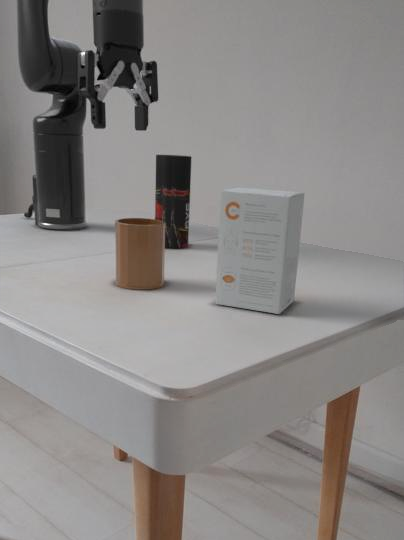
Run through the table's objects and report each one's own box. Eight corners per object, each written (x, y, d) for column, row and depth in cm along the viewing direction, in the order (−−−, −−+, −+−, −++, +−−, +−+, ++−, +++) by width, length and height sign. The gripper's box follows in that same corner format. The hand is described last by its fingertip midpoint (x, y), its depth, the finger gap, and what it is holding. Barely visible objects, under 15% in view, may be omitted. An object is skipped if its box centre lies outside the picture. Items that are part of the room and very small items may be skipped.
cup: (105, 283, 73) (104, 220, 70) (136, 275, 78) (136, 216, 75) (143, 292, 70) (144, 226, 67) (172, 283, 75) (174, 222, 72)
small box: (294, 302, 69) (306, 191, 64) (279, 315, 63) (291, 195, 58) (232, 292, 72) (239, 186, 67) (213, 304, 66) (219, 189, 61)
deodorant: (187, 249, 97) (190, 157, 92) (152, 247, 97) (154, 155, 92) (188, 243, 103) (192, 156, 97) (156, 241, 103) (157, 154, 97)
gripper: (137, 23, 91) (138, 131, 97) (63, 6, 81) (69, 127, 87) (169, 18, 87) (169, 131, 93) (95, -1, 77) (100, 128, 83)
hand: (120, 129), depth 90 cm, fingers open, 8 cm apart
